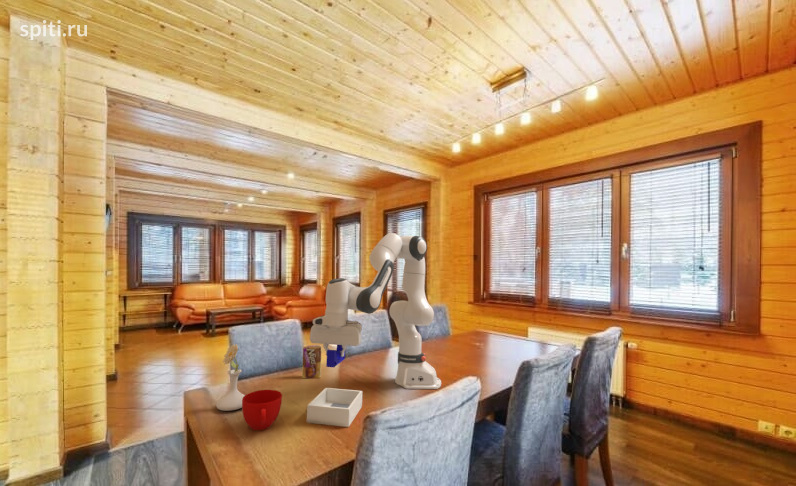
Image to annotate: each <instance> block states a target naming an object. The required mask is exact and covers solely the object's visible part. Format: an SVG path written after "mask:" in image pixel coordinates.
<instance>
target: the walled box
mask: <svg viewBox="0 0 796 486" xmlns="http://www.w3.org/2000/svg"><path fill="white" fill-rule="evenodd" d="M362 407H363V390H358V389H357V390H356V389H355V390H354V389H344V388H343V389H342V388H332V387H325V388H324V389H323V390H321V391H320V393H318V394H317V395H316V396H315V397H314V398H313V399H312V400H311V401H310V402H309V403H308V404H307V407H306V408H307V409H306V423H307V424H317V425H326V426H335V427H345V428H349V427H350V425H351V424H352V423H353V421H354V419H355V418H356V417H357V416H358V413H359V412H360V410H361V409H362Z"/></svg>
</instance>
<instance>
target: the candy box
mask: <svg viewBox="0 0 796 486" xmlns="http://www.w3.org/2000/svg"><path fill="white" fill-rule="evenodd" d="M322 350H323V349H322V344H315V345H303V347H302V370H301V372H302V375H301V377H302V378H301V379H320V378H321V375H322Z"/></svg>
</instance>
